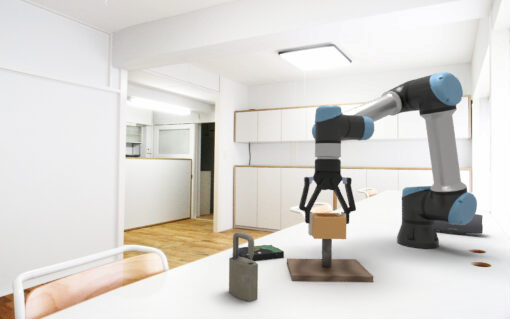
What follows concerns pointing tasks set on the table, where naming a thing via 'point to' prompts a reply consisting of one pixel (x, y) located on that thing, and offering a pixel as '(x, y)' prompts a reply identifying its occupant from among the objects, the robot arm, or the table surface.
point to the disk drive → (262, 253)
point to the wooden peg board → (328, 268)
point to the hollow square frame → (328, 226)
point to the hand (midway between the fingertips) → (326, 234)
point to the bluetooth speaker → (461, 226)
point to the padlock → (243, 270)
